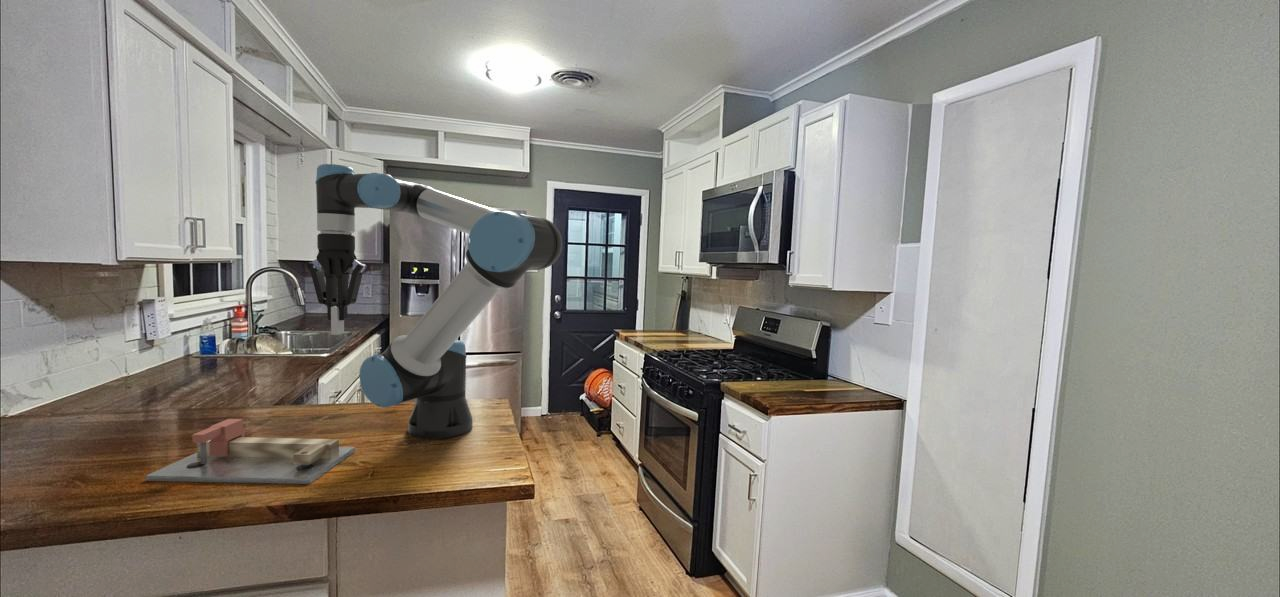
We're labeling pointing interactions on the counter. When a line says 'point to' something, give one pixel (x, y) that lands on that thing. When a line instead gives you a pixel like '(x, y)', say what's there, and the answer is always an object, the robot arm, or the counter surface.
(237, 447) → the beam with fixed leg
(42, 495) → the counter surface
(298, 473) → the steel plate
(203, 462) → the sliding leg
